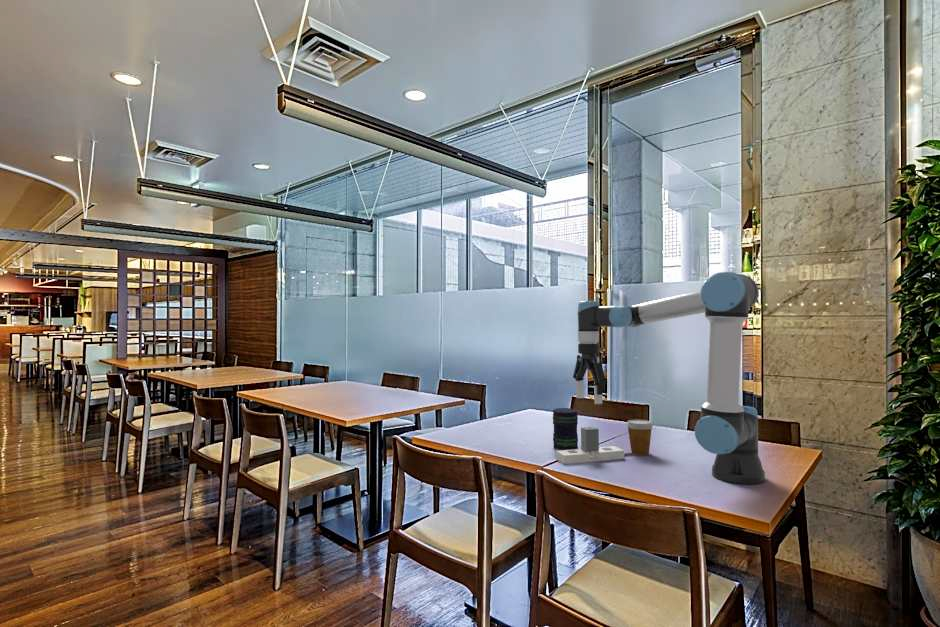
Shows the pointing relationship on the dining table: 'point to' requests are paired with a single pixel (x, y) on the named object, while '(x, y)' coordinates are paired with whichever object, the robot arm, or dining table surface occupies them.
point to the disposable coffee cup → (639, 436)
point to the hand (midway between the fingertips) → (588, 400)
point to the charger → (590, 439)
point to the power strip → (584, 456)
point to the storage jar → (565, 429)
